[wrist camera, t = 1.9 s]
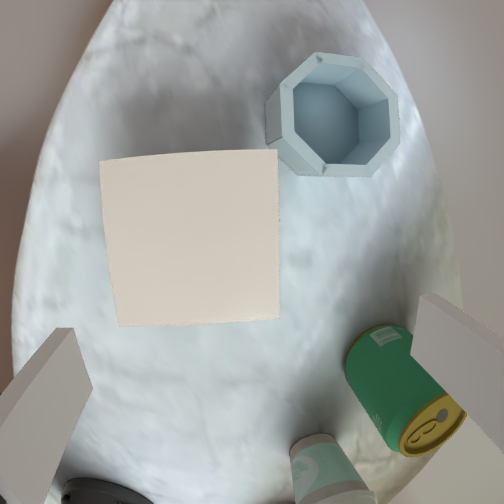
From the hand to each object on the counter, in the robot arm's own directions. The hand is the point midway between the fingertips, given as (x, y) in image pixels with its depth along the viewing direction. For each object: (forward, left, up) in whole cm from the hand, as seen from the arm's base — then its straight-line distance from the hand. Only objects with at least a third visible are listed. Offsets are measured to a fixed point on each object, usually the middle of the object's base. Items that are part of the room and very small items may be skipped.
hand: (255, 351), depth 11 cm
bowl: (+7, +10, -16) cm, 20 cm away
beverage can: (+14, -12, -16) cm, 25 cm away
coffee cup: (+8, -25, -16) cm, 31 cm away
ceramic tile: (-3, +2, -12) cm, 12 cm away
